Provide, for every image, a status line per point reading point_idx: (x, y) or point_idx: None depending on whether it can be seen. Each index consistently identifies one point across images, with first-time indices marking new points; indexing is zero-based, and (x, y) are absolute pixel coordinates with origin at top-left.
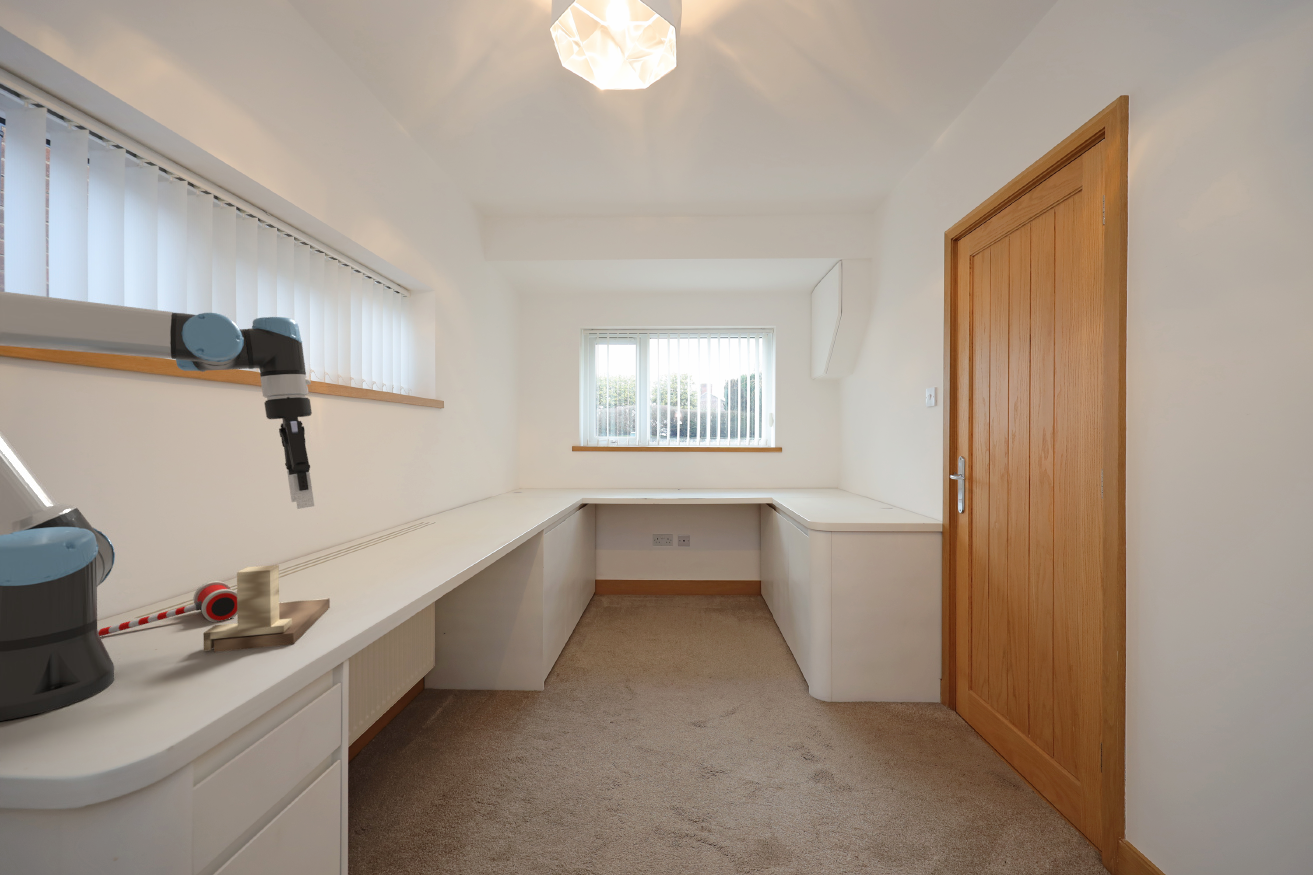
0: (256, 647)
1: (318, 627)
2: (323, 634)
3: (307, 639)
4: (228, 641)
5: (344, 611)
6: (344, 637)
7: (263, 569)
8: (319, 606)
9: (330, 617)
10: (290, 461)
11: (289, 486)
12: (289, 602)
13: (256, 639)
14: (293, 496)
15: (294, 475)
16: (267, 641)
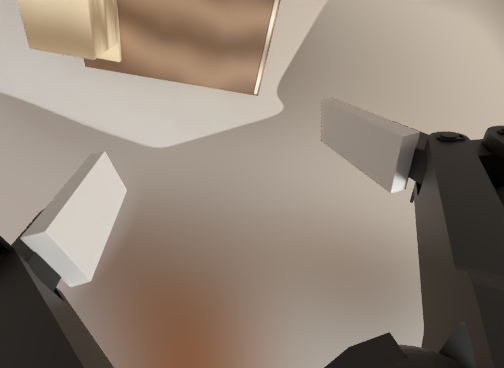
0: None
1: (162, 87)
2: (127, 97)
3: (109, 79)
4: None
5: (226, 111)
6: (107, 123)
7: (41, 30)
8: (220, 86)
9: (205, 97)
10: (429, 182)
11: (358, 112)
12: (265, 38)
13: None
14: (330, 111)
15: (29, 239)
16: None
